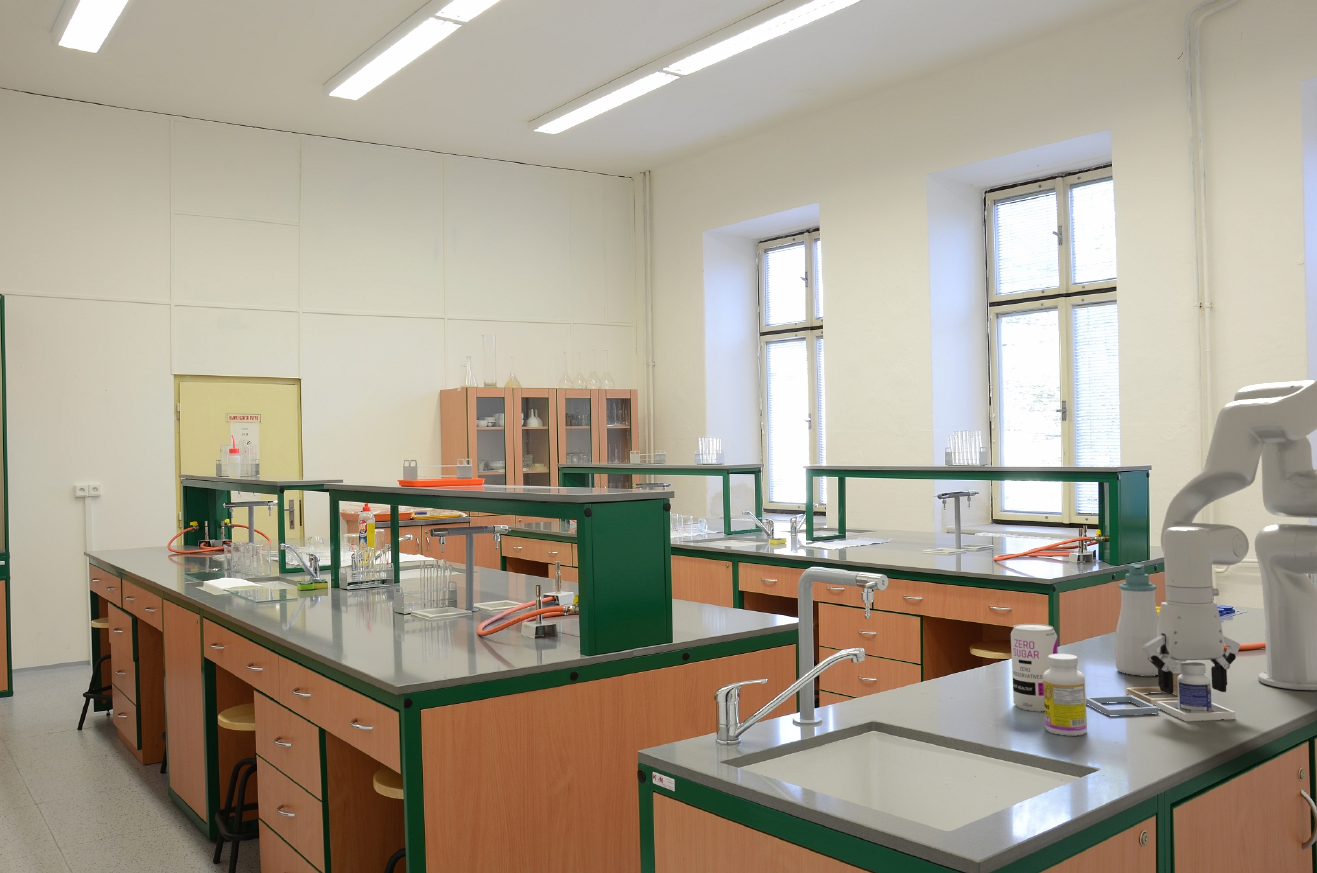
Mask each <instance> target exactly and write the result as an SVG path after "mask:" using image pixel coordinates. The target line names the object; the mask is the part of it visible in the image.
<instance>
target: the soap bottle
mask: <svg viewBox="0 0 1317 873" xmlns="http://www.w3.org/2000/svg"><path fill="white" fill-rule="evenodd" d="M1149 576H1150V575H1149V574H1148V573H1145V564H1135V563H1134V564H1129V565H1128V573H1125V577H1124V578H1125V581H1123V582H1122V583H1120V584H1119V585H1118V586H1117V587H1118V588H1119V589H1120V596H1121V598H1120V599H1121V602H1120V603H1121V605H1120V611H1119V617H1118V620H1117V625H1116V630H1115V641H1114V642H1115V648H1114V649H1115V650H1114V651H1115V652H1114V653H1115V667H1116V669H1117V671H1119V672H1120V673H1121V672H1122V673H1121V674H1125V673H1126V674H1125V675H1128V674H1131V675H1130V676H1134V675H1143V676H1142V677H1155V676H1154V675H1158V669H1157V668H1156V667H1155V666H1154V665H1153V664H1152V663H1151V662H1150V661H1149V660H1148V657H1147V655H1146V654H1145V652H1144V650H1143V648H1142V647H1143V645H1145V644H1146V643H1148V642H1150V641H1151V640H1153V639H1155V638H1157V628H1158V617H1159V612H1158V610H1157V604H1156V590H1157V588H1158V587H1157V585H1155V584H1153V583H1152V582H1150V577H1149ZM1155 653H1156V655H1157V656H1158V657H1160V656H1161V655H1160V654H1159V653H1158V651H1157V649H1156V650H1155Z"/></svg>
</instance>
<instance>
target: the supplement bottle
mask: <svg viewBox="0 0 1317 873" xmlns="http://www.w3.org/2000/svg"><path fill="white" fill-rule="evenodd" d="M1048 663H1049V665H1050V669H1049V670H1047V671H1045V673H1044V674H1043V687H1044V710H1045V712H1044V724H1045V725H1044V726H1045V729H1046V730H1047V732H1049V733H1051V734H1053V733H1054V735H1057V734H1060V735H1059V736H1063V735H1066V736H1065V737H1077V735H1079V736H1082V735H1085V734H1086V733H1087V731H1088V721H1087V720H1088V718H1087V705H1086V698H1087V697H1086V679H1085V675H1084V674H1083V672H1081V671H1080V670H1078V668H1077V667H1078V664H1079V660H1078V656H1077V655H1073V654H1069V653H1058V654H1051V655H1049V656H1048Z"/></svg>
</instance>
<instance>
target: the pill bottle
mask: <svg viewBox="0 0 1317 873" xmlns="http://www.w3.org/2000/svg"><path fill="white" fill-rule="evenodd" d="M1180 669H1181V672H1182V674H1181V675H1179V676H1178V678H1177V686H1178V696H1177V698H1178V708H1177V709H1178V710H1180V711H1182V712H1184V713H1186V714H1187V713H1208V712H1213V711H1212V705H1211V702H1212V690H1211V688H1212V684H1211V680H1210V678H1209V676H1207V675H1205V674H1206V673H1207V669H1206V664H1205V663H1202V662H1197V661H1186V662H1182V663H1180Z"/></svg>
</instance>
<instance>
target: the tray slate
mask: <svg viewBox="0 0 1317 873" xmlns="http://www.w3.org/2000/svg"><path fill="white" fill-rule="evenodd" d="M1129 701H1130V702H1133V703H1134V704H1137V705H1139V706H1141V707H1143V708H1141V707H1139V706H1138V707H1130V708H1129V707H1127V708H1124V707H1123V708H1109V707H1108V706H1105V705H1104V704H1099V703H1107V702H1108V703H1109V702H1129ZM1086 704H1089V705H1090V706H1093V707H1094V708H1096V709H1098V710H1100V711H1101V712H1103V713H1106V714H1107V715H1109V716H1110V715H1134V716H1140V715H1139V714H1152V713H1158V714H1159V709H1158V707H1157V706H1153V705H1151V704H1149V703H1147V702H1145V701H1142V700H1140V699H1138V698H1136V697H1134V696H1131V695H1130V696H1129V695H1114V696H1113V695H1111V696H1110V695H1109V696H1093V697H1086ZM1134 704H1133V705H1134ZM1137 705H1136V706H1137ZM1090 706H1089V707H1090ZM1094 708H1093V709H1094ZM1096 709H1095V710H1096ZM1098 710H1097V711H1098ZM1100 711H1099V712H1100ZM1101 712H1100V713H1101ZM1103 713H1102V714H1103ZM1135 714H1137V715H1135ZM1107 715H1106V716H1107ZM1109 716H1108V717H1109Z"/></svg>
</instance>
